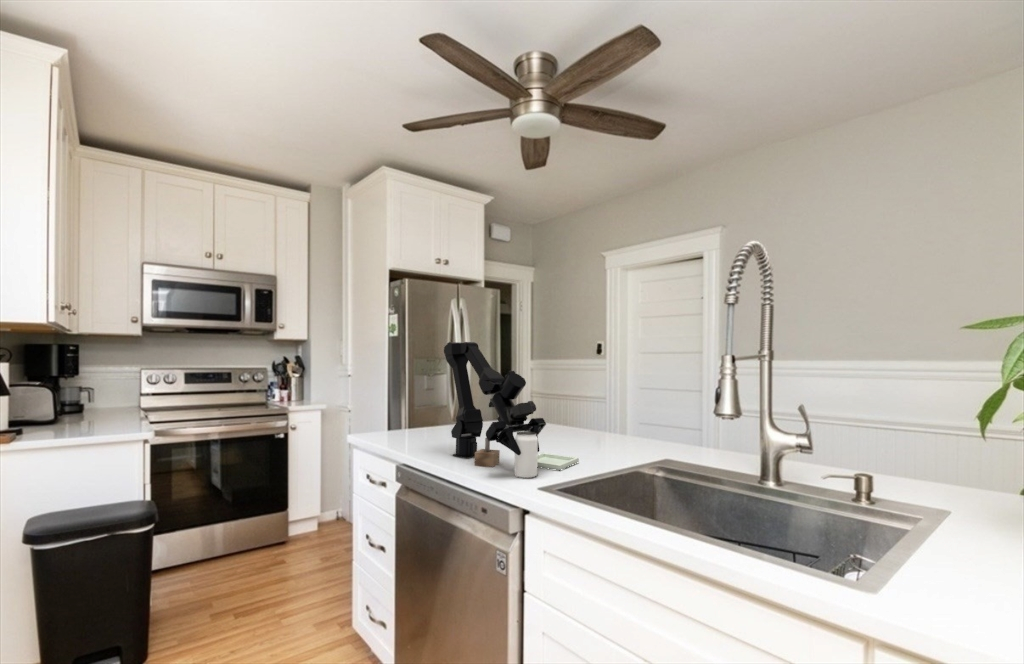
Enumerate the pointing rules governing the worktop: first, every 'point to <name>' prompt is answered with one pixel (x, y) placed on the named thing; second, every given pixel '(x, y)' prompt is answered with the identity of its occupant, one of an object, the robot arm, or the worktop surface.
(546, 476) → the worktop surface
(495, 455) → the wooden peg block
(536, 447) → the can
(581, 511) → the worktop surface
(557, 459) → the tray
